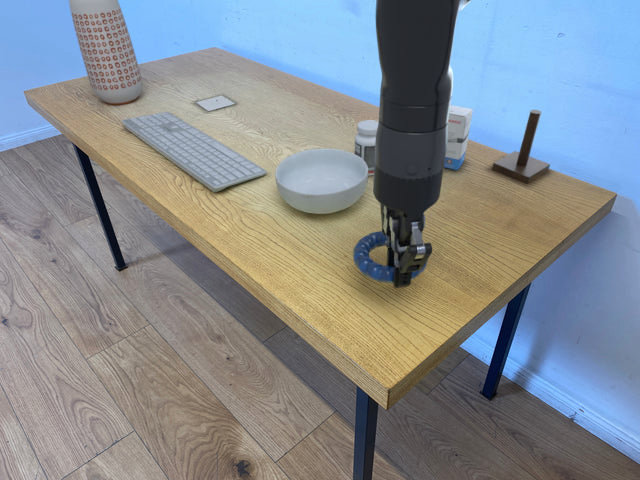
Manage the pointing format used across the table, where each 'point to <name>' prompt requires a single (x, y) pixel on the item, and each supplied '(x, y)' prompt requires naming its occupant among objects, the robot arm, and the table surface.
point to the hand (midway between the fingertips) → (397, 276)
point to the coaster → (215, 103)
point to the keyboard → (193, 150)
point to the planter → (106, 50)
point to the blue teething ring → (371, 267)
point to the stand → (523, 156)
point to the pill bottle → (366, 143)
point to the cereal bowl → (322, 180)
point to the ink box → (457, 136)
